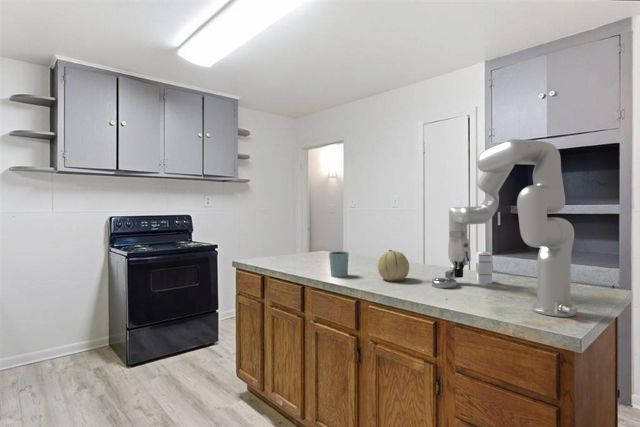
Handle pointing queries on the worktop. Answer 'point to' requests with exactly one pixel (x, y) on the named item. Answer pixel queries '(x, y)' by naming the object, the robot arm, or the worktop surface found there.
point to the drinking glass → (339, 264)
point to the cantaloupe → (393, 266)
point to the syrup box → (484, 267)
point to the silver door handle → (446, 280)
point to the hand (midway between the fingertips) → (458, 277)
